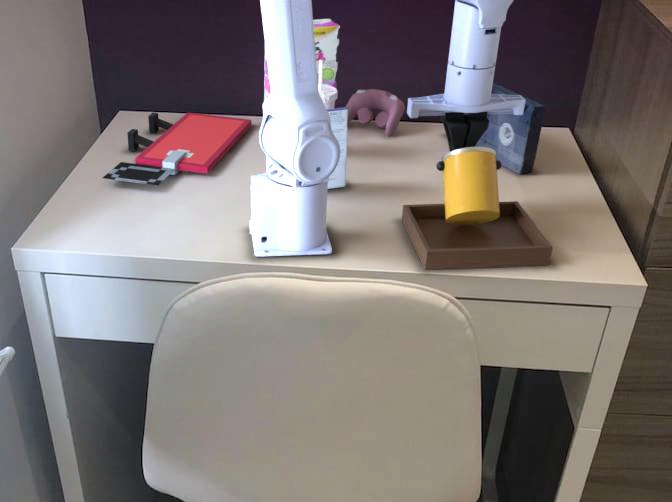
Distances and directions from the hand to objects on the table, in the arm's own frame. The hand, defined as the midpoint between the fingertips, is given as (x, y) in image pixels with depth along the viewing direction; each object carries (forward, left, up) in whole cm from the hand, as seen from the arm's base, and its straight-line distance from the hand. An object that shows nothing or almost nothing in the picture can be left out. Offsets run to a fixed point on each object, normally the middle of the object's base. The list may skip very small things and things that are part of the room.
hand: (457, 169), depth 110 cm
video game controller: (-5, +33, -6) cm, 34 cm away
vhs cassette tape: (+11, +20, -6) cm, 23 cm away
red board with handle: (-37, +23, -6) cm, 44 cm away
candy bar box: (-17, +34, -6) cm, 38 cm away
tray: (0, -10, -6) cm, 12 cm away
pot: (0, -6, 0) cm, 6 cm away
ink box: (-19, +8, -6) cm, 21 cm away
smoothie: (-16, +22, -6) cm, 28 cm away
